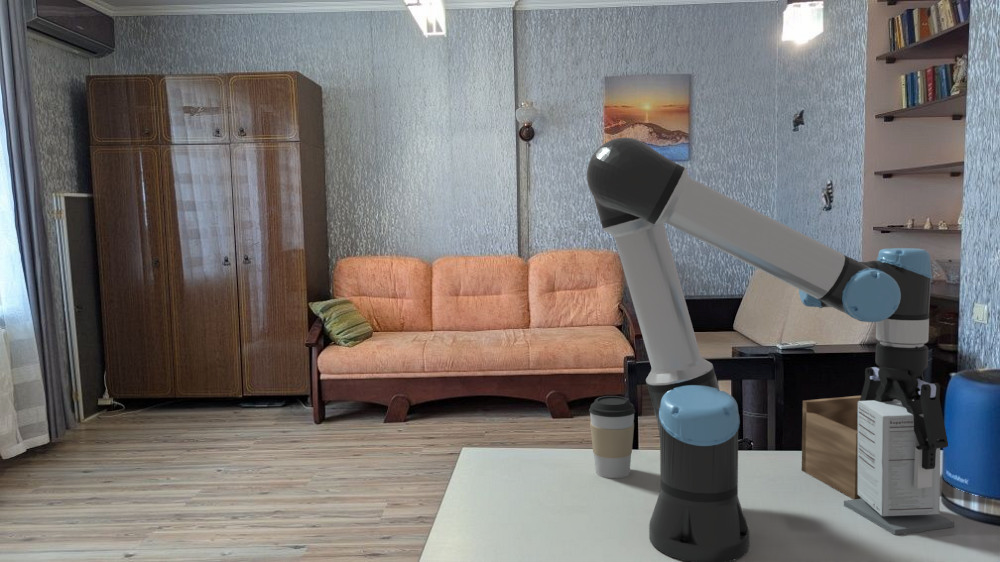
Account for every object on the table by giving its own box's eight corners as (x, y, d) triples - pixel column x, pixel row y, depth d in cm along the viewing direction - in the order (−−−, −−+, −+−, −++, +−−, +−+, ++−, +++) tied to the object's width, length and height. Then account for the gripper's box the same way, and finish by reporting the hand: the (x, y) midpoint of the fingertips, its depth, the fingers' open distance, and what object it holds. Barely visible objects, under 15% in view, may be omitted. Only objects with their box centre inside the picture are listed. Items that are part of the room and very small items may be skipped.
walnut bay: (854, 499, 129) (856, 422, 127) (801, 470, 143) (802, 400, 142) (924, 491, 132) (926, 415, 130) (865, 463, 146) (867, 395, 145)
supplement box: (911, 492, 126) (913, 397, 124) (941, 515, 117) (944, 413, 115) (854, 494, 126) (856, 399, 125) (880, 517, 117) (882, 415, 115)
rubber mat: (894, 534, 115) (895, 530, 115) (843, 505, 126) (843, 500, 126) (954, 526, 117) (954, 522, 117) (898, 498, 129) (898, 494, 129)
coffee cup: (585, 478, 142) (585, 402, 140) (593, 462, 151) (592, 391, 149) (632, 482, 139) (632, 405, 138) (638, 466, 148) (637, 393, 146)
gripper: (980, 354, 109) (974, 498, 111) (872, 330, 131) (869, 451, 133) (937, 357, 107) (932, 503, 109) (835, 333, 129) (832, 454, 131)
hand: (897, 475), depth 121 cm, fingers closed on supplement box, 10 cm apart
